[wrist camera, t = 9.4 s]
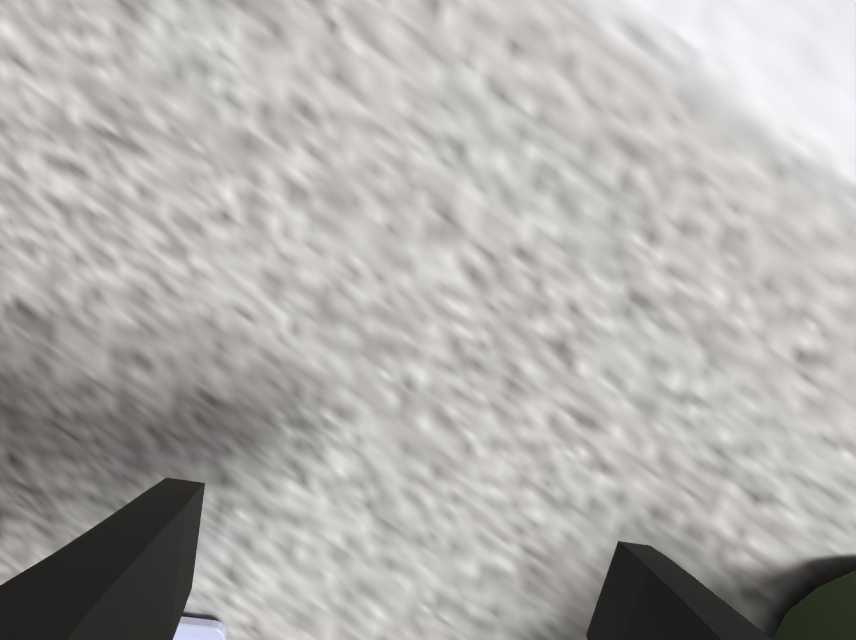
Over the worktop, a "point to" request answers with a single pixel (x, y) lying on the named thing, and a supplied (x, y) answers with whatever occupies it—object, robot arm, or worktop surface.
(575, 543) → the worktop surface
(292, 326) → the worktop surface
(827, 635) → the character mug
